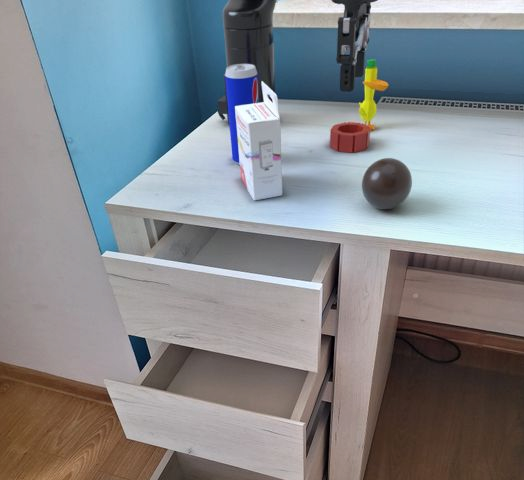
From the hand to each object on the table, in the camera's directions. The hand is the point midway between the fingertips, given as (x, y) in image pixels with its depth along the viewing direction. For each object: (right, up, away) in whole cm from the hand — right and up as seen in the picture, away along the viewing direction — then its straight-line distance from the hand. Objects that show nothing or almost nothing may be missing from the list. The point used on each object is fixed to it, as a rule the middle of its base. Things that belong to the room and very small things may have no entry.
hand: (352, 83), depth 86 cm
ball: (+3, -23, -10) cm, 25 cm away
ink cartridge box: (-15, -18, -3) cm, 24 cm away
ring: (+1, -7, +9) cm, 11 cm away
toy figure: (+6, -1, +15) cm, 16 cm away
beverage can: (-18, -11, +6) cm, 22 cm away
